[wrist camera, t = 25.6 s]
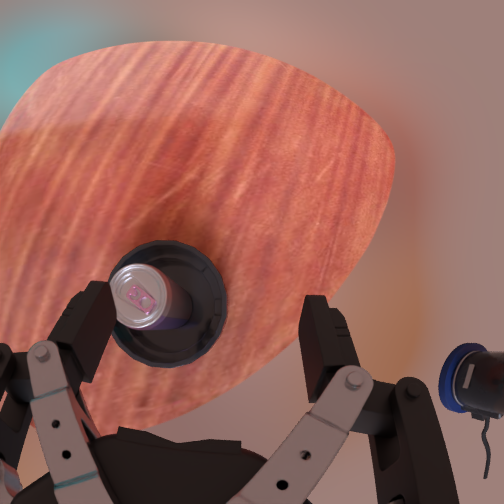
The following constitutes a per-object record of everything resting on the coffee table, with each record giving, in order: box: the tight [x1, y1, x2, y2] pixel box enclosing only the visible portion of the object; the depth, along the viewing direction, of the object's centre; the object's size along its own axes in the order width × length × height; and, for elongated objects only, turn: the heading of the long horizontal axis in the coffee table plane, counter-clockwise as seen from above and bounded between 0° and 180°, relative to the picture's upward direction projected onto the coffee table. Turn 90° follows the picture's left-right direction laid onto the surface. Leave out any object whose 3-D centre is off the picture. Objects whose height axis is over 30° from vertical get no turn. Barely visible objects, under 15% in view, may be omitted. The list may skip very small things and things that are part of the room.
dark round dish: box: [108, 240, 228, 368], centre depth 37 cm, size 15×15×6 cm
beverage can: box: [110, 264, 192, 330], centre depth 32 cm, size 6×6×15 cm
